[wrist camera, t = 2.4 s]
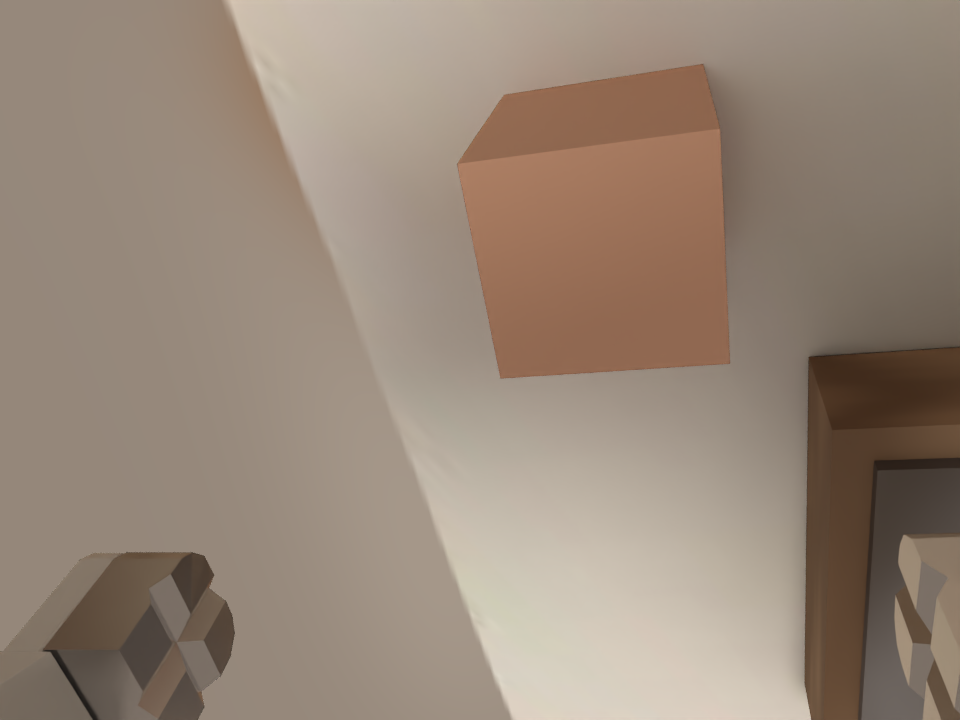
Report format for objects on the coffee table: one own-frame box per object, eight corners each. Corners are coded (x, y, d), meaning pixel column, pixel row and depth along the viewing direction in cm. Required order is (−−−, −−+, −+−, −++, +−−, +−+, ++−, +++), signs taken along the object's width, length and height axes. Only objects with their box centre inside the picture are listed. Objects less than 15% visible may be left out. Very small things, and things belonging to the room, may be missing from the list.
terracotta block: (703, 63, 20) (720, 128, 15) (712, 251, 22) (730, 363, 17) (504, 94, 21) (457, 163, 16) (533, 269, 23) (500, 378, 18)
